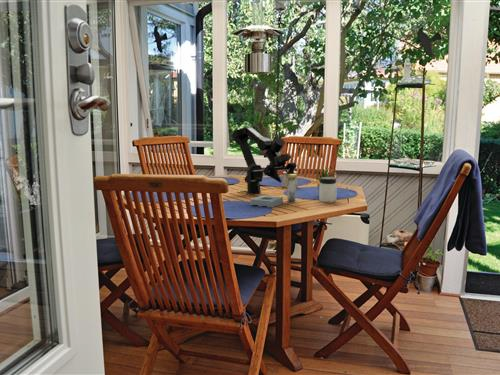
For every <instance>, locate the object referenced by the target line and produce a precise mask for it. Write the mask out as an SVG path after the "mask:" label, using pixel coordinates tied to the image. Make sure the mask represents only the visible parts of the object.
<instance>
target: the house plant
mask: <svg viewBox="0 0 500 375" xmlns="http://www.w3.org/2000/svg"><path fill="white" fill-rule="evenodd" d="M333 170H334V168H333V169H331V170H330V166H329V167H327V169H326V170H325V168H324V166H322V169H319V168H318V170H317V169H315V170H314V172H316V173H317V175H318V176H314V178H315V179H316V182H320V178H321V177H333V176H338V173H334V171H333ZM332 173H333V174H332ZM316 186H317V190H318V194H319V183H317V185H316Z"/></svg>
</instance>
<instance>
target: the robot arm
mask: <svg viewBox="0 0 500 375" xmlns="http://www.w3.org/2000/svg"><path fill="white" fill-rule="evenodd" d="M232 138H233V140H234V142H235V143H236V144H237V145H239V148H240V150H241V153H242V155H243V158H244V161H245V163H246V166H247V170H246V176H245V177H244V183H247V186H246V188H247V191H245V192H246V194H253V195H255V194H256V195H257V194H259V193H261V192H262V191H261V184H260V183H261V182H262V181H263V178H264V175H265V176H267V177H270V178H272V179H273V180H275V181H276V182H278V183H279V184H282V183H281V182H282V180H281V177H279V176H280V175H279V173H278V172H279V171H280V172H281V171H286V172H287V174H294V171H295V169H296V168H297V166H298V165H297V163H296V162H288V163H287V161H290V159H292V155H291V154H290V153H289V152H287V153H283V154H282V153H281V154H279V153H280V152H281V151H282V149H283V148H284V146H285V145H286V142H285V140H283V139H282V138H280V137H279V136H278V135H277V136H274V138H273V139H270V138H268V137H265V136H262V134H260V133H259V132H258V131H256V130H255V129H254V127H252V126H251V125H250V126H243V127H242V128H238V129H235V130H234V131H233V132H232ZM249 138H250V139H251V140H253V142H255V143H256V144H257V145H256V146H257V148H258V149H259V150H260V151H261V152H262V151H265V152H264V154H263V158H265V159H266V158H267V159H268V161H269V163H268V164H267V165H265V166H266V167H265V168H264V170H263V169H262V166H261V165H260V164H257V163H256V160H255V157H254V155H253V153H252V151H251V148H250V145H249Z"/></svg>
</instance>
